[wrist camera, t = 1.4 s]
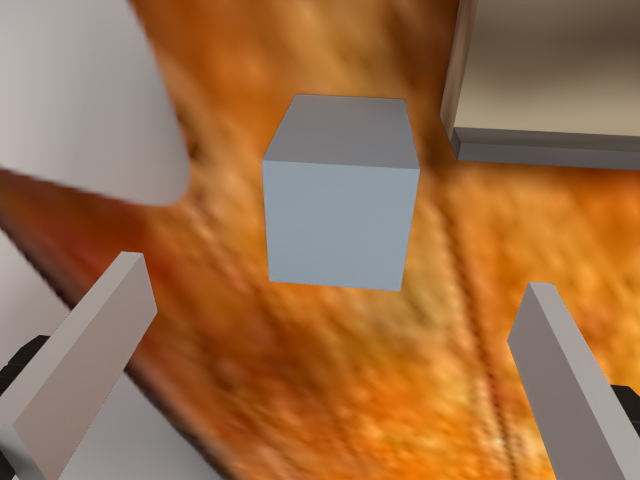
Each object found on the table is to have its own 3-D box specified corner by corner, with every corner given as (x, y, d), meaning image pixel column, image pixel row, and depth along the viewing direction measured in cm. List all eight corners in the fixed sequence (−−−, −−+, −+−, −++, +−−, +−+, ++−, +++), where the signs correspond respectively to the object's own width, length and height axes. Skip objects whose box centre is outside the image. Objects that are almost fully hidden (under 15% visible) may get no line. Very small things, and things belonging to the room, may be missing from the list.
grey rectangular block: (295, 94, 24) (261, 160, 16) (404, 99, 23) (420, 169, 16) (296, 190, 27) (269, 281, 20) (392, 196, 27) (400, 291, 19)
